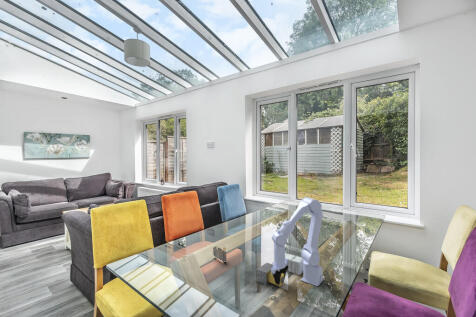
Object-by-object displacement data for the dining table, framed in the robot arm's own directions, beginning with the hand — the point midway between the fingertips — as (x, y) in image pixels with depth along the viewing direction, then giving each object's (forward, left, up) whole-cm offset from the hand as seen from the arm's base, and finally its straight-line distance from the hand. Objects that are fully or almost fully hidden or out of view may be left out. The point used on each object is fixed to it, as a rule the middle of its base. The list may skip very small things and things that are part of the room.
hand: (280, 281), depth 117 cm
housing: (+8, 0, -1) cm, 8 cm away
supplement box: (+9, -18, +2) cm, 20 cm away
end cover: (+4, 0, -1) cm, 4 cm away
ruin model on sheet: (+45, -1, -2) cm, 45 cm away
